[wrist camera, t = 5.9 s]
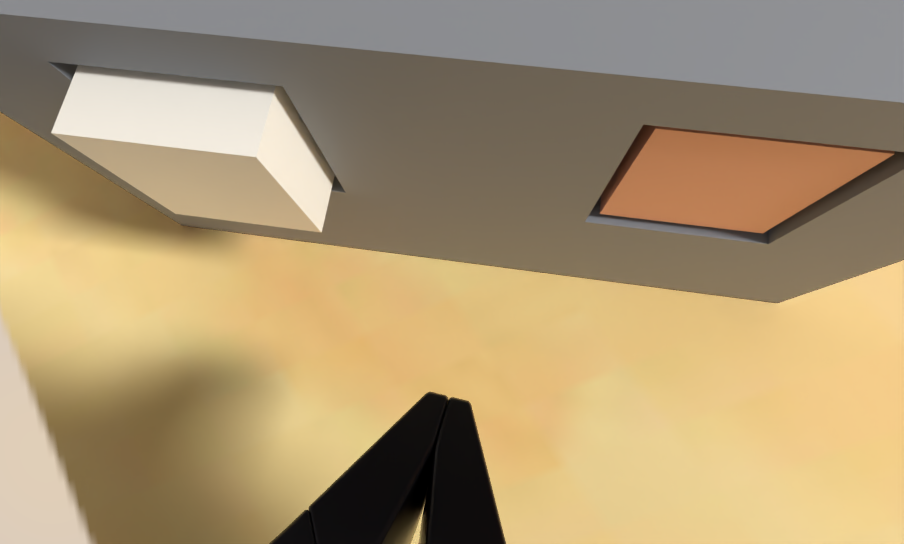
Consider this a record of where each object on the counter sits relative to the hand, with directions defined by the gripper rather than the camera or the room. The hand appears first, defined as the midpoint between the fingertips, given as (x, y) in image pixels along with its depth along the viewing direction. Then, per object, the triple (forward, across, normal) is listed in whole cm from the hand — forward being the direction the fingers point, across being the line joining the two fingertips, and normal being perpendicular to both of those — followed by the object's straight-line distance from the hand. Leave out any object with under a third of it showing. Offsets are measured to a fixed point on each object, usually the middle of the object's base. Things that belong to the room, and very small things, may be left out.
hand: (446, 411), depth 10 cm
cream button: (+4, +6, -2) cm, 8 cm away
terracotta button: (+6, -5, -3) cm, 8 cm away
